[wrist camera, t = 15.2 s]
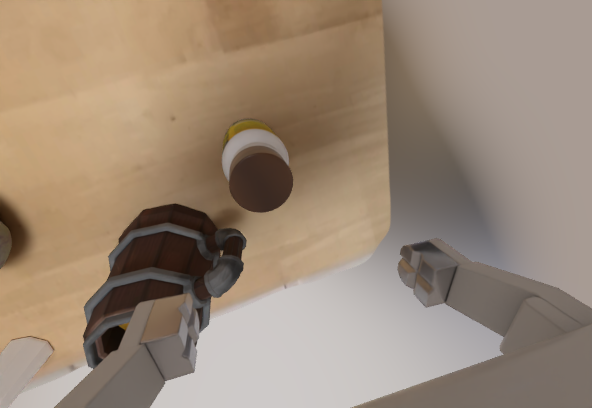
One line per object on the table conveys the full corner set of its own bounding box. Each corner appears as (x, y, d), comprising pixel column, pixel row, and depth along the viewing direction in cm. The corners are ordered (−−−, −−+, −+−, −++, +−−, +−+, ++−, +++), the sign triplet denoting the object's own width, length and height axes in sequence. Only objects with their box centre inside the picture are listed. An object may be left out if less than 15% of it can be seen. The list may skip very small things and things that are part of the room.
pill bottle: (216, 122, 27) (209, 142, 17) (270, 113, 28) (291, 128, 18) (230, 174, 30) (231, 215, 20) (278, 164, 31) (301, 199, 21)
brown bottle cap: (271, 134, 18) (276, 140, 16) (295, 183, 21) (302, 194, 18) (217, 162, 18) (215, 172, 16) (247, 209, 20) (249, 223, 18)
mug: (168, 290, 35) (131, 411, 22) (101, 231, 29) (-2, 349, 16) (262, 239, 35) (282, 329, 22) (215, 171, 29) (204, 238, 16)
